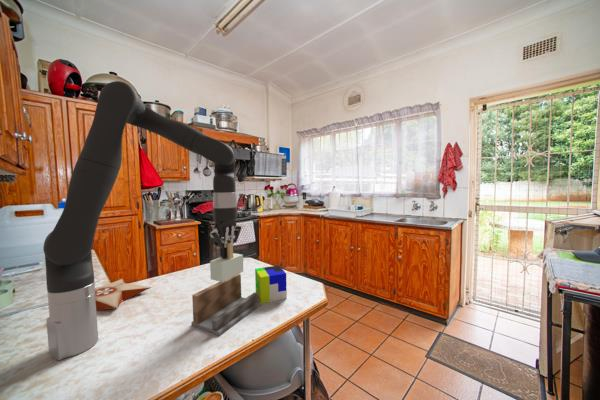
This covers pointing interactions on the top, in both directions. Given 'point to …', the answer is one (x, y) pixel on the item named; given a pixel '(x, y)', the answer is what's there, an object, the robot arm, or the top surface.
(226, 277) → the wide pale green cuboid
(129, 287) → the decorative star
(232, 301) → the board
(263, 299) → the puzzle toy
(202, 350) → the top surface
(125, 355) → the top surface
